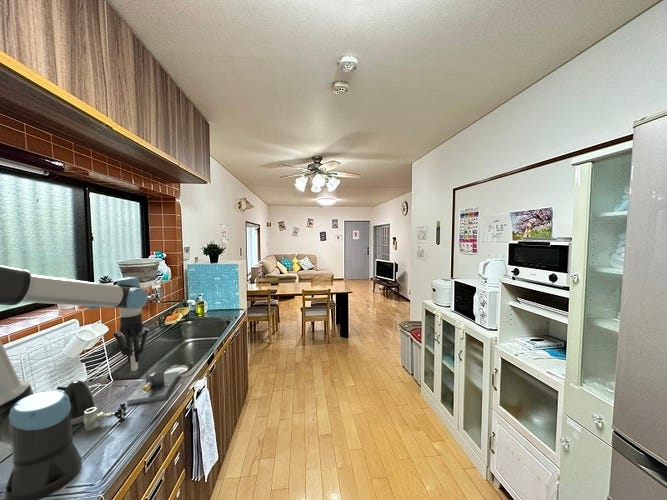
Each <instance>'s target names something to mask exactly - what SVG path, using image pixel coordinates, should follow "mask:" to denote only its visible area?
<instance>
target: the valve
mask: <svg viewBox="0 0 667 500" xmlns="http://www.w3.org/2000/svg"><path fill="white" fill-rule="evenodd" d="M127 408H128V407H127V402H122V403H121V404H119V407H118V408H117V410H115V411H114V412H113V411H111V412H108V413H107V412H104V411H102V412H100V413H98V407H96V406H95V407H94V408H90V409H87V410H86V411H84V416H85V417H84V421H83V422H82V423H83V424H84V430H85V431H86V432H89V431H92V430H95V429H96V428H98V427H99V422H100V423H101V422H103V421H105V419H109V418H113V417H116V419H118V423H119V424H120V423H122V422H125V420H126V419H125V417H126V416H127V412H126V411H127Z"/></svg>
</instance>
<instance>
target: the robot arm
mask: <svg viewBox="0 0 667 500" xmlns="http://www.w3.org/2000/svg"><path fill="white" fill-rule="evenodd" d="M147 301H148V293H147V291H146V290H145V289H144V288H142V287H141V284H140V280H139V278H138V277H137V276H136V277H135V276H132V277H131V276H130V277H121V278H119V279H117V280H116V284H106V283H99V282H92V281H91V282H90V281H85V280H78V279H77V280H76V279H71V278H70V279H69V278H63V277H55V276H54V277H53V276H46V275H39V274H32V273H31V272H30V271H29V270H28V269H24V268H17V267H11V266H6V265H2V264H1V265H0V305H1V306H17V305H19V304H21V303H33V304H50V305H51V304H52V305H53V304H54V305H65V306H66V305H67V306H83V307H85V308H86V309H88V310H91V311H92V310H99V309H101V308H113V309H114V308H115V309H117V308H118V312H119V316H120V317H119V324H120V326H119V330H117V331H116V332H115V333H113V335H112V336H113V337H114V338H115V339H116V341H117V345H118V347H119V349H120V350H119V351H120V353H121V355H122V356H127V362H128V364H130V369H131V370H130V371H131V372H136V371H137V370H138V369H139V362H140V360H141V356H140V354H142V353H144V351H145V349H146V345H147V341H148V340H147V339H148V334H149V333H150V331H151V329H150V328H146V327H145V326H144V324H143V314H142V308H143V307H144V306H145V305H146V304H147ZM141 332H142V336H141V340H140V334H141ZM123 336H124V337H123ZM124 339H125V340H124ZM70 410H71V404H70V401H69V397H68V395H67V394H66V393H64V391H62V390H50V391H46V390H45V391H40V392H36V393H34V391H33V389H32V386H31V384H30V382H29V381H27V380H20V379H19V377H18V375H17V373H16V370H15V368H14V366H13V364H12V362H11V360H10V357H9V355H8V353H7V352H6V349H5V347H4V345H3V343H2V341H1V339H0V443H3V444H7V445H11V449H12V461H13V467H12V468H11V469H12V470H11V472H10V475H9V479H8V480H7V483H6V487H5V489H4V490H5V491H4V492H5V493H4V494H5V500H40V499H42V498H44V497H47V496H48V495H49V496H50V495H51V494H52V493H54V492H56V491H58V490H59V489H61V488H63V487H64V486H66V485H67V484H69V483H70V482H71V481H72V480H73V479H75V477H76V476H77V475H78V474H79V473H80V472H81V469H82V466H83V460H82V455H81V454H80V453H79V451H78V450H77V447H76V445H75V444H74V442H73V434H72V433H73V432H72V431H73V430H72V425H71V413H70Z"/></svg>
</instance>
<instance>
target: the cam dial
mask: <svg viewBox="0 0 667 500" xmlns="http://www.w3.org/2000/svg"><path fill="white" fill-rule="evenodd" d="M164 374H165V371H164V370H163V369H155V370H154V371H151V372H149V373H147V372H146V374H145V378H146V385H145V386H144V387H143V392H148V391H150V389H151V388H155V387H158V386H160V385H162V384H163V383H164Z"/></svg>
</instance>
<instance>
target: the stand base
mask: <svg viewBox="0 0 667 500" xmlns="http://www.w3.org/2000/svg"><path fill="white" fill-rule="evenodd" d="M154 370H156V367H150V368H149V369H148V370H147V372H146V374H147V373H149V372H151V371H154ZM179 377H180V371H174V372H166V373H165V372H164V383H163V384H162V385H160V386H158V387H155V388H151V389H150V391H148V392H143V387H144V386H145V385H146V377H144V379H143V380H142V381H141V383H140V384H139V385H138V386H137V388H135V390H134V391H133V392H132V393H131V395H130V396H129V398H127V400H126V406H131V405H137V404H145V403H150V402H157V401H164V400H166V399H167V398H168V395H169V393H170V392H171V390H172V389H173V388H174V385H175V383H176V382H177V380H178V378H179Z"/></svg>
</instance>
